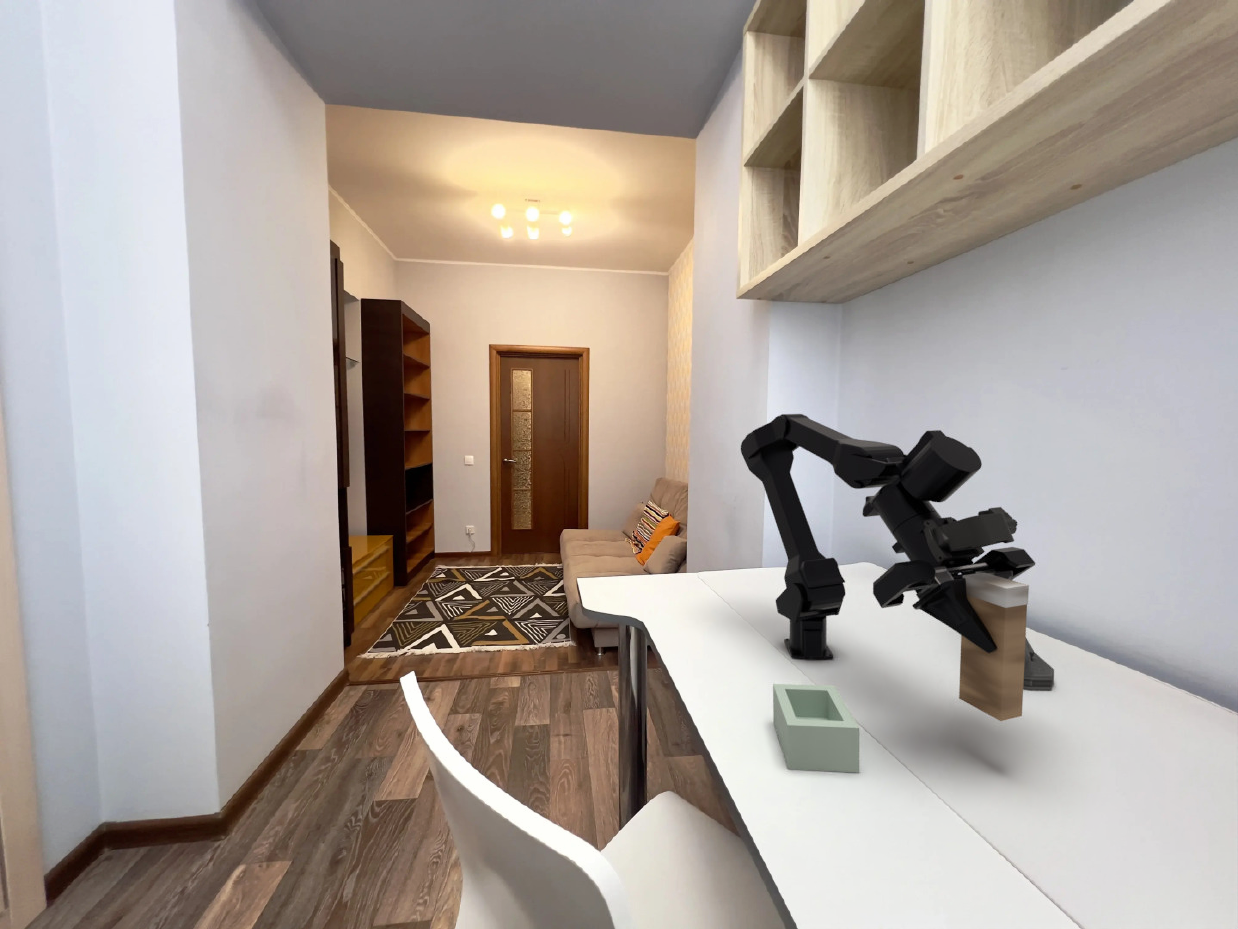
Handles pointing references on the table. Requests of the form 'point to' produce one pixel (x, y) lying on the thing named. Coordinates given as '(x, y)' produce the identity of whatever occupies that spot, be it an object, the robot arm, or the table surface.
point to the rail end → (1000, 673)
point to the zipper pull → (1036, 671)
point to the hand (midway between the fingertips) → (1004, 648)
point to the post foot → (815, 728)
